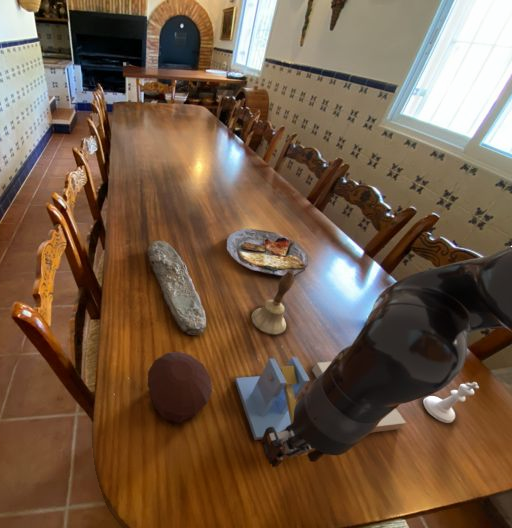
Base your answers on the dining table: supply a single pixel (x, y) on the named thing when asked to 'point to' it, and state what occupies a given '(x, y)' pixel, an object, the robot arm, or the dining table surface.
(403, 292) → the robot arm
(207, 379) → the brown rounded faceted lump
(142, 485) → the dining table surface
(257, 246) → the food plate
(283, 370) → the flush lever
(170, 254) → the long grey stone
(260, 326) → the hand bell
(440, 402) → the chess piece
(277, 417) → the lever bracket
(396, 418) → the dial knob panel
